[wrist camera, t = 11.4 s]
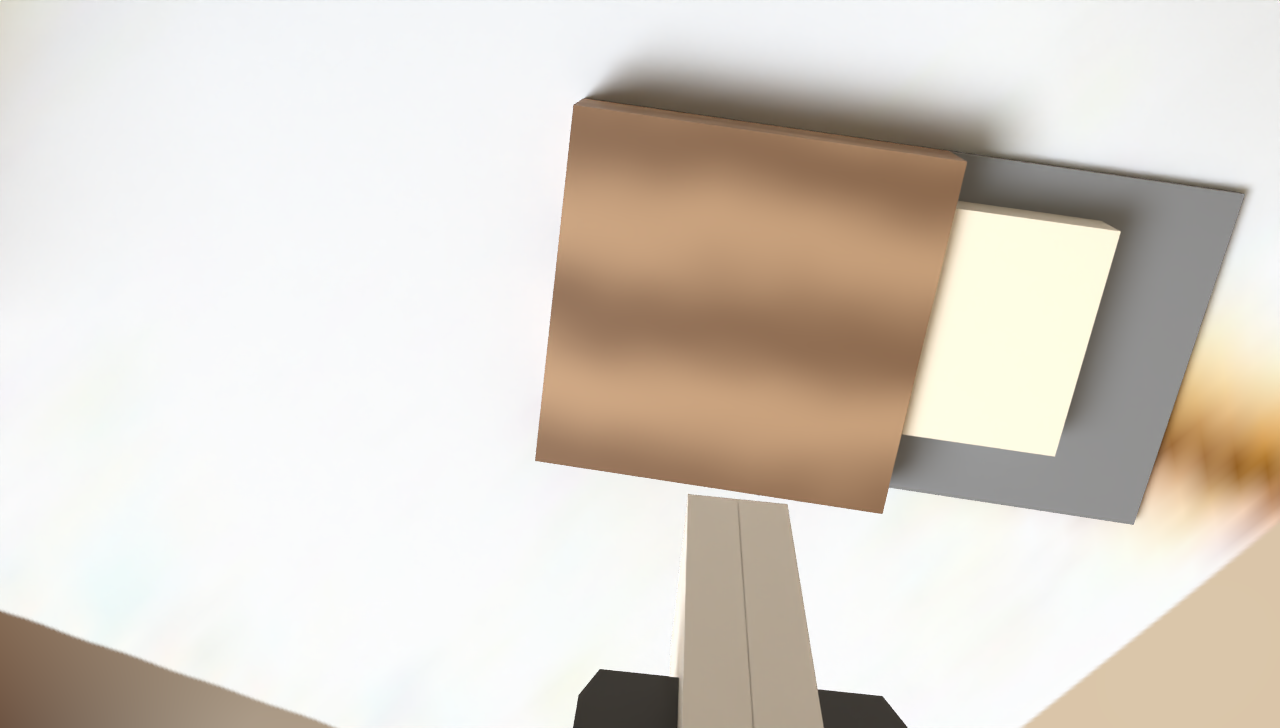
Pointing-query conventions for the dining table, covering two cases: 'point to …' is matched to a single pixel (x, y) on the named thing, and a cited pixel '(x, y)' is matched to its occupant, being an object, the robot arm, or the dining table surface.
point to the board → (741, 302)
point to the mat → (1097, 342)
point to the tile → (1009, 327)
